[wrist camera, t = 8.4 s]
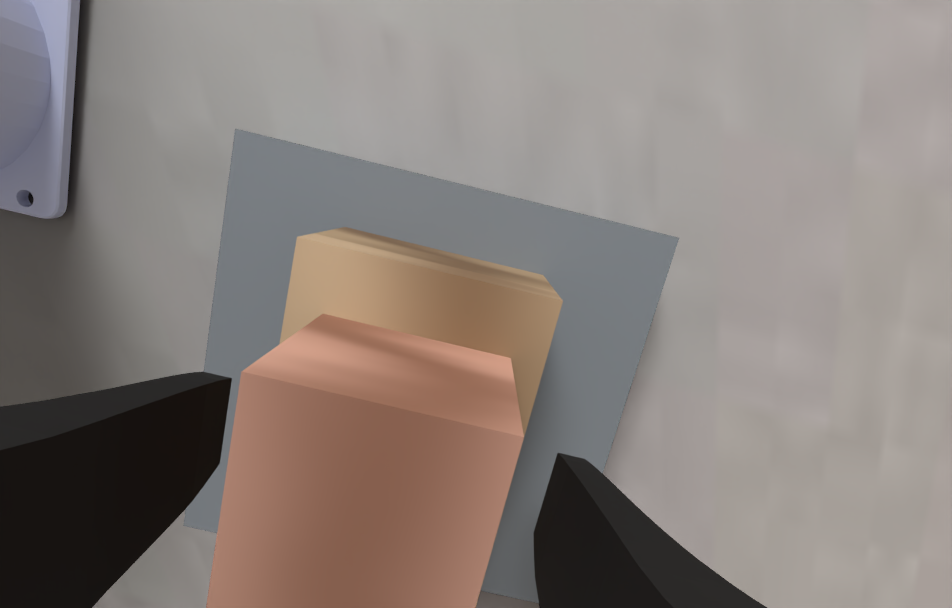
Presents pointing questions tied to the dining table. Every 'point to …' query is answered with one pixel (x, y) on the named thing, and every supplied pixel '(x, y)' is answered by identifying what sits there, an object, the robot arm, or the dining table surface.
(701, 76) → the dining table surface
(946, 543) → the dining table surface
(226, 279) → the dock
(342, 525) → the salmon pink block
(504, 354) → the tan boxy piece
